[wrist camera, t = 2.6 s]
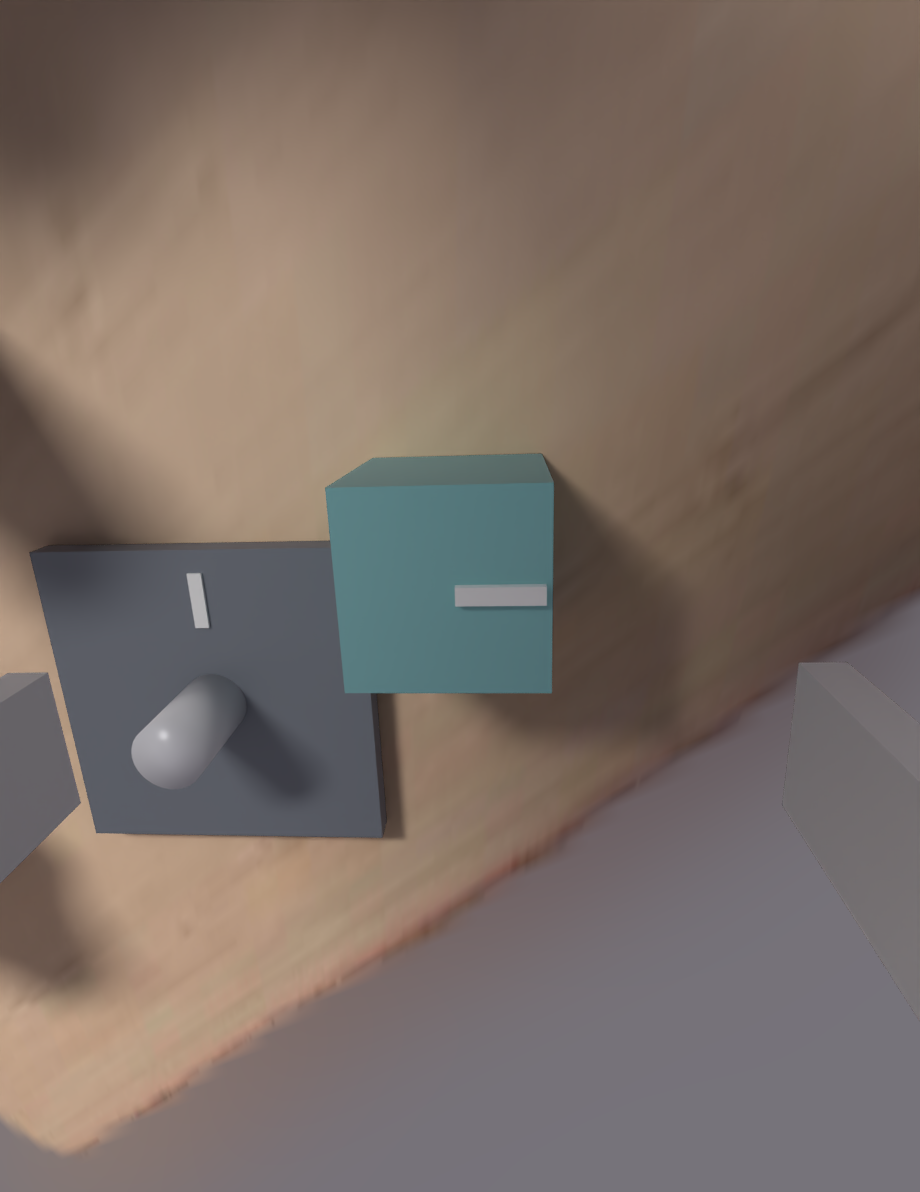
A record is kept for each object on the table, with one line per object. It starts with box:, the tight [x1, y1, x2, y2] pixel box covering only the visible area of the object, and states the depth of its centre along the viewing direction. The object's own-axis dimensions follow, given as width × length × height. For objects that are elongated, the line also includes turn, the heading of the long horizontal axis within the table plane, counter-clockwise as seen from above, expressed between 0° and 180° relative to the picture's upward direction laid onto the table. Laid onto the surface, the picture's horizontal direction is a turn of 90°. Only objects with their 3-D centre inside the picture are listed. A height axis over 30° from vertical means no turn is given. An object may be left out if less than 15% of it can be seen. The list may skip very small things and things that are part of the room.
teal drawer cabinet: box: [325, 454, 554, 693], centre depth 24 cm, size 7×7×8 cm
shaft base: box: [30, 541, 387, 838], centre depth 28 cm, size 14×14×6 cm
